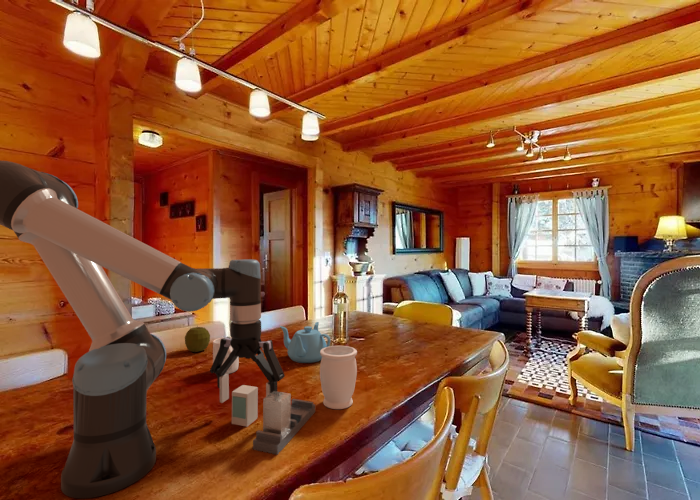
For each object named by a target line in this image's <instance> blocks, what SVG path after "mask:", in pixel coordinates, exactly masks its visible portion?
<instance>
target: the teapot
mask: <svg viewBox="0 0 700 500" xmlns="http://www.w3.org/2000/svg"><path fill="white" fill-rule="evenodd" d="M319 323H320V322H319V321H316V322H315V323H314V325H313V327H312V326H309V325H306V326H304V327H303V329H300V330H297V331H296V332H295V333H294V334H293V336H292V338H290V336H289V332H288V328H287V327H285V326H283V325H279V328H280V329H281V330H282V332H283V345H284V347H285V348H286V349H287V355H288V357H289V358H290V359H291V360H292V361H293V362H295V363H300V364H312V363H318V362H319V361H320V362H321V359H322V356H321V355H320V351H321V349H323V348H325V347H329V346H331V337H330V335H328V333H321V331H319ZM312 328H313V329H312ZM325 338H326V339H327V340H325ZM326 341H327V342H326Z"/></svg>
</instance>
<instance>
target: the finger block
mask: <svg viewBox="0 0 700 500" xmlns="http://www.w3.org/2000/svg"><path fill="white" fill-rule="evenodd" d="M258 391H259V387H257V386H253V385H252V386H251V385H245V384H242V385H240V386H238V387H237V388H235V389H233V391H231V425H236V426H243V427H247V428H248V427H249V426H250V425H251V424H252V423H254V422H255V421H256V420H257V419H258V415H259V414H258V413H259V411H258V410H259V409H258V407H259V406H258V405H259V404H258V403H259V395H258V394H259V392H258Z"/></svg>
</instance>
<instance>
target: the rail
mask: <svg viewBox="0 0 700 500" xmlns="http://www.w3.org/2000/svg"><path fill="white" fill-rule="evenodd" d="M291 397H292V395H291V393H290V392H289V393H288V392H283V391H278V390H277V391H273V392H272V393H270V394H269V395H268V396H266V395H265V397H264V398H263V403H262V406H263V407H262V412H263V413H262V421H263V422H262V430H258V429H257V431H255V432H256V433H255V438H254V439H253V440H252V450H254V451H258V452H262V451H263V453H267V452H268V453H267V454H271V453H272V454H271V455H277V456H278V455H279V454H280V453H281V452H282V450H284V448H285V447H286V446H287V445H288V444H289V442H290V441H291V440H292V439H293V438H294V437H295V436H296V434H297V433H299V431H300V430H301V429H302V428H303V426H304V425H305V424H306V423H307V422H308V421H309V420H310V418H312V417H313V415H314V414H315V413H316V404H314V401H310V400H309V401H308V400H303V399H299V398H291ZM279 452H280V453H279Z"/></svg>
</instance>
